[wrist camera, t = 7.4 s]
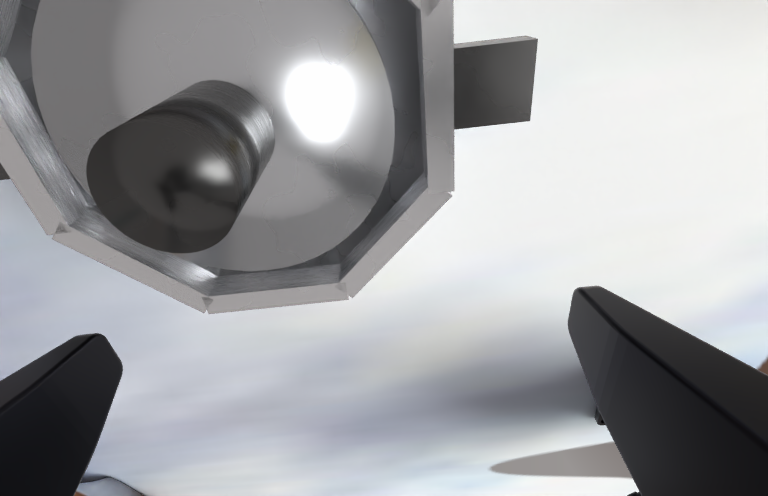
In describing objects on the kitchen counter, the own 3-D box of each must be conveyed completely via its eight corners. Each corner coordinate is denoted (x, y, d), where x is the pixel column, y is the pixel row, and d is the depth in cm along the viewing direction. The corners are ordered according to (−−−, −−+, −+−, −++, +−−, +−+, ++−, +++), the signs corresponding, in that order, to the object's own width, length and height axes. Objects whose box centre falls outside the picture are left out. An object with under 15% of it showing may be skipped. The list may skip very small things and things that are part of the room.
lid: (402, 238, 15) (417, 343, 10) (146, 263, 15) (56, 376, 11) (376, -102, 10) (384, -177, 5) (-17, -58, 10) (-327, -94, 5)
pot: (488, 204, 20) (532, 280, 15) (117, 244, 20) (31, 332, 15) (504, -163, 13) (600, -268, 8) (-64, -90, 13) (-345, -143, 8)
